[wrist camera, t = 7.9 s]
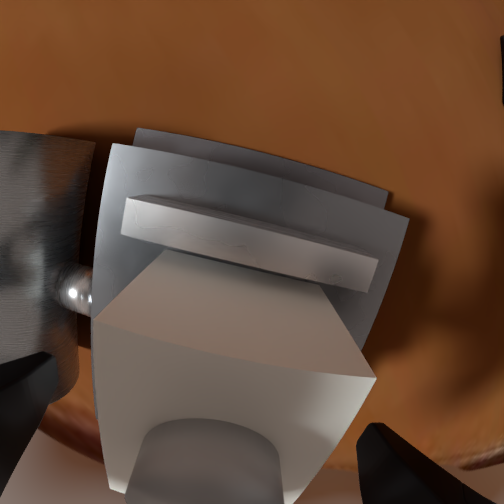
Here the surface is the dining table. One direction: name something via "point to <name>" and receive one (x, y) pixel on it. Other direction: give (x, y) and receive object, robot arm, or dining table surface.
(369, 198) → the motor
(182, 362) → the white knobbed block
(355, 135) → the dining table surface
